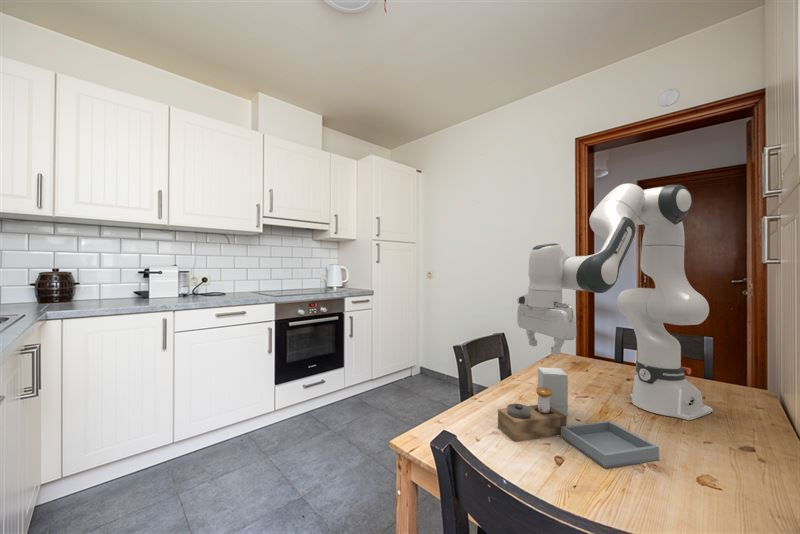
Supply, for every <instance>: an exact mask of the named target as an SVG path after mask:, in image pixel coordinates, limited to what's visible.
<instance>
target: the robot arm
mask: <svg viewBox="0 0 800 534" xmlns="http://www.w3.org/2000/svg"><path fill="white" fill-rule="evenodd" d="M692 197H693V196H692V194H691V191H690V190H689V189H688V188H687V187H686V186H684V185H682V184H668V185H665V186H658V187H652V188H646V189H643V188H642V187H640V186H639V185H637V184H634V183H629V182H628V183H623V184H620V185H618V186H616V187H614V189H612V190H610V192H608V193H607V194H606V195H605V196H604V197H603V199H602V200H601V201H599V203H598V204H597V205H596V207H594V209H593V210H592V212H591V214H590V216H589V220H588V221H589V226H590V229H591V230H592V232H594V234H595V235H597V236H598V237H599V238H601V239H603V240H605V241H604V243H603V245H602V247H601V249H600V251H598V252H596V253H594V254H590V255H576V256H574V255H571V254H569V253H567V252H565V250H563V249H562V247H561V244H558V243H547V244H546V243H544V244H539V245H535V246H534V247H532V249H531V251H530V254H529V260H528V278H529V285H528V287H527V288H528V289H527V293H524V294H523V295H520V296H518V297H517V305H518V307H517V312H516V314H517V315H516V318H517V319H516V321H517V325H518V327H519V328H520V329H524V330H526V331H525V332H526V333H525V334H526V336H527V339H528V345H529V346H530V347H537V346H538V340H537V339H536V337H535V334H536V333H538V334H542V335H544V336H548V337H552V338H553V342H554V344H553V346H551V347H550V349H551V351H550V353H551V354H553V355H555V356H556V355H557V356H559V355H561V348H562V347H563V345H564V344H565V341H573V340H575V339H576V337H577V325H576V324H577V323H576V316H575V314H574V313H575V311H574V309H573V308H572V306H571V305H570V304H569V303H564V302H563V290H573V291H586V292H589V293H595V294H604V293H607V292H608V291H610V290H611V289H612V288H613V287H614V286H615V285H616V283H617V282H618V278H619V273H620V269H621V267H622V264H623V261H624V260H625V257H626V255H627V254H628V251H629V249H630V247H631V245H632V242H633V241H634V238H635V235H636V226H639V225H640V226H641V225H644V230H643V236H642V241H641V250H640V251H641V252H640V265H639V267H640V271H642V273H644V274H645V275H646V276H648V277H650V278H651V279H652V281H653V283H654V287H655V288H652V287H651V288H650V287H647V288H646V287H637V288H636V287H634V288H628V289H623V290H622V291H621V292H620V293H619V294H618V296H617V299H616V306H617V309H618V311H619V312H620V314H622V315H623V316H624V317H625V318H626V319H627V320H628V322H629V324H630V325H631V326H632V329H633V331H634V333H635V334H634V335H635V338H636V344H637V345H636V347H637V348H636V349H637V360H636V362H635V372H636V374H635V375H634V380H633V387H632V392H631V393H630V394H629V396H630V398H631V403H632V404H633V405H634V406H636V407H637V408H640V409H641V410H645V411H647V412H650V413H653V414H657V415H662V416H666V417H667V416H668V417H673V418H678V419H682V420H687V421H693V420H695V419H698V418H700V417H703V416H706V415H709V414H712V413H713V412H714V411H713V408H712V407H711V406H709V405H706V404H704V403H703V394H702V392H701V391H700V389H698V388H697V387H696V386H695V385H694V384H692V383H691V382H689V380H687V379H686V375H691V373H692V369H691V367H685V366H682V362H681V360H682V355H681V354H682V353H681V351H682V349H681V348H682V346H681V344H680V341H679V340H678V339H677V338H676V337H675V336H673V335H671V334H670V333H669V332H668V331H667V330H666V328H665V325H664V324H668V325H675V326H691V325H692V326H694V325H695V326H696V325H701V324H702V323H704V321H706V319H707V318H708V316H709V314H710V306H709V302H708V301H707V299H706V298H705V296H703V295H702V294H700V292H698V291H696V289H694V287H692V285H691V284H690V282H689V280H688V278H687V275H686V272H685V246H686V245H685V244H686V243H685V242H686V241H685V238H686V237H685V230H684V229H685V227H684V223H683V220H684V218H685V217H686V216H687V215H688V214H689V211H690V210H691V208H692V205H693V198H692ZM685 374H686V375H685ZM711 412H712V413H711Z"/></svg>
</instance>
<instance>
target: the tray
mask: <svg viewBox="0 0 800 534" xmlns="http://www.w3.org/2000/svg"><path fill="white" fill-rule="evenodd" d="M560 438H561V439H562V440H563V441H565V442H566V443H567V444H569V445H570V446H571V447H573V448H575V449H576V450H577V451H579V452H580V453H582V454H583V455H585V456H586V457H587V458H589V459H590V460H591V461H593V462H595V464H597V465H599V466H601V467H602V468H603V469H604V470H605V469H606V470H607V469H613V468H619V467H625V466H629V465H635V464H642V463H649V462H652V461H653V462H654V461H659V460H660V446H659V445H656V444H654V443H652V442H651V441H648V440H647V439H645V438H643V437H641V436H639V435H637V434H635V433H633V432H631V431H629V430H627V429H625V428H623V427H621V426H620V425H618V424H616V423H614V422H612V421H610V420H603V421H595V422H594V421H593V422H588V423H579V424H570V425H566V426H562V427H561V435H560Z"/></svg>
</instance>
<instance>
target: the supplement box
mask: <svg viewBox="0 0 800 534" xmlns="http://www.w3.org/2000/svg"><path fill="white" fill-rule="evenodd" d="M568 376H569V375H568V374H567V373H566V372H565V371H564V370H563V369H562V368H560V367H559V368H558V367H557V368H556V367H540V366H539V367H538V368H537V388H538V387H544V388H548V389H551V390H552V395H551V396H550V407H552V408H554V409H555V410H557V411H559V412H561V413H562V414H564V415H566V416H568V415H569V414H568V413H569V412H568V409H569V404H568V402H569V399H568V398H569V397H568V396H569V395H568V394H569V390H568V387H569V386H568V385H569V383H568V381H569V379H568V378H569V377H568Z"/></svg>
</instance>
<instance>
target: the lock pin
mask: <svg viewBox="0 0 800 534" xmlns="http://www.w3.org/2000/svg"><path fill="white" fill-rule="evenodd" d="M535 390H536V391H535V393H536V394H537V405H538V412H539V413H540V414H542V415H547V414H550V396H551V395H552V390H551V389H548V388H544V387H538V386H537V387H536V388H535Z"/></svg>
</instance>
